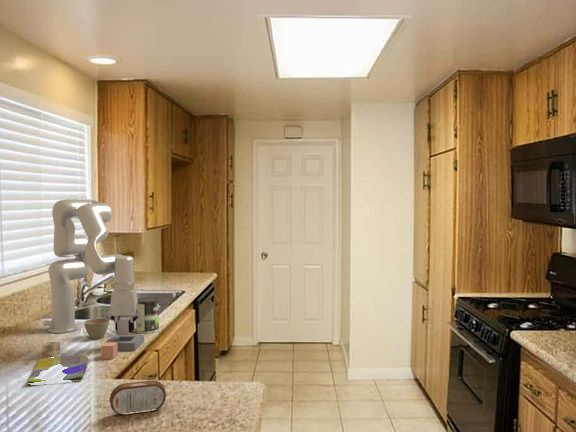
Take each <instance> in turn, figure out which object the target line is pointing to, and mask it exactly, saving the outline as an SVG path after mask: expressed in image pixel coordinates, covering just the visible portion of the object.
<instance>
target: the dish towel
mask: <svg viewBox="0 0 576 432" xmlns="http://www.w3.org/2000/svg"><path fill="white" fill-rule="evenodd" d="M89 361H90V358H89V356H87V354H84V353H81V354H74V355H72V354H71V355H63V356H58V357H54V358H43V359H42V358H40V359H39V360H38V361H36V363H35V366H34V367H33V370H32V371H33V373H32V372H31V374H32V375H31V374H30V376H31V377H30V376H29V378H28V380H27V381H26V384H27V385H28V383H34V382H41V381H46V380H41V379H34V378H35V377H37V376H39V374H40V372H41V371H43V370H48V369H49V368H50V367H52V366H55V365H58V364H61V365H62V366H63V367H68V368H67V369H64V370H62V372H63V373H65V374H67V375H66V376H65V377H64V378H63V380H71V381H72V382H74V383H81V382H82V380H83V379H84V376H85V373H86V371H87V368H88V364H89V363H90V362H89Z"/></svg>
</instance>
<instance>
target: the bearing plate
mask: <svg viewBox="0 0 576 432" xmlns="http://www.w3.org/2000/svg"><path fill="white" fill-rule="evenodd" d="M105 342H117V350H118V351H119V352H121V351H122V352H123V351H129V352H131V351H133V352H134V351H136V350H137V349H139V348H140V346H141V345H143V344H144V343H145V334H130V335H117V334H114V335H113V336H110V338H109V339H107V340H106V341H105Z"/></svg>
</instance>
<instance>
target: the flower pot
mask: <svg viewBox="0 0 576 432" xmlns="http://www.w3.org/2000/svg"><path fill="white" fill-rule="evenodd" d="M83 325H84V328H85V331H86V333H87V335H88V337H89V338H90V339H92V340H100V339H103V338H104V337H105V335H106V334H107V331H108V329H109V325H110V319H109V318H102V317H97V318H90V319H87V320H85V321H84V323H83Z"/></svg>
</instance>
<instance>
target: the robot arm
mask: <svg viewBox="0 0 576 432" xmlns="http://www.w3.org/2000/svg"><path fill="white" fill-rule="evenodd" d="M51 213H52V214H51V215H52V220H53V227H54V228H53V229H54V230H53V253H54V255H55V256H56V257H58V258H65V259H60V260H55V261H53V262H51V263H50V265H49V266H48V277H49V281H50V290H51V291H50V292H51V293H50V294H51V295H50V296H51V298H50V299H51V303H50V304H51V319H50V320H44V321H43V326H45V327H46V326H48V328H47V331H48V332H49V333H50V334H51V333H52V334H65V333H70V332H71V333H72V332H74V331H75V332H76V331H77V330H79V324H76V316H75V315H76V314H75V313H76V312H75V311H76V310H75V309H76V308H75V307H76V304H75V303H76V301H75V289H74V286H73V285H72V284H71V282H70V281H75V280H81V279H85V278H86V277H88V275H89V273H90V270H91V271H92V272H93V273H94V274H95V275H99V276H100V275H107V274H113V276H114V278H113V280H114V283H110V287H111V288H113V290H112V292H111V297H110V307H109V310H108V311H107V313H106V316H107V317H108V318H110V319H111V320H112V321H113V322H114V323H113V324H114V326H115V327H114V330H115V331H116V334H117V320H118V319H120V318H121V317H128V318H130V323H129V333H131V334H132V333H133V332H134V331H135V323H136V320H137V319H138V318H139V317H140V316H141V315H143V313H142V312H141V310H140V309H139V308H138V299H139V298H138V293H137V290H136V289H135V264H134V263H135V262H134V261H135V259H134V257H133V256H131V255H123V254H119V253H116V254H104V255H100V254H99V252H98V249H97V246H96V245H97V244H99V243H101V242H102V241H104V240H105V239H106V238H107V237H108V235H109V233H110V232H109V229H108V228H107V225H106V223H108V222H110V221H111V219H112V218H113V212H112V208H111V207H110V206H109V205H108V204H107V203H105V202H101V201H99V200H98V201H97V200H94V199H87V198H86V199H79V198H77V199H75V198H73V199H71V198H70V199H61V200H57V201H56V202H55V203H54V204H53V207H52V212H51ZM72 219H78V220H79V222H80V225H81V226H82V228H83V230H84V233H85V235H82V234H76V225H75V223H74V221H73V220H72ZM71 257H75V258H71ZM67 258H68V259H67ZM136 313H138V315H136Z"/></svg>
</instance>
